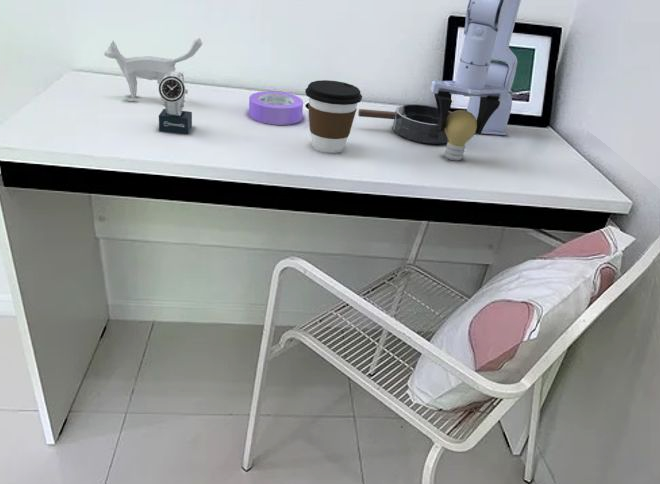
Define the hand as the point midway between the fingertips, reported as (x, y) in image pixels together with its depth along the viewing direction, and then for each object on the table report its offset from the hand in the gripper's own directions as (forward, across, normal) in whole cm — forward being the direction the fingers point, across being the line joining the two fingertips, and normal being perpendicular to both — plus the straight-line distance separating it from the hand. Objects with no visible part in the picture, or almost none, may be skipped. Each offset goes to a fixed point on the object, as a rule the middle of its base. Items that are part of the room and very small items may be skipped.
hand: (459, 131), depth 127 cm
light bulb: (+6, 0, 0) cm, 6 cm away
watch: (+6, -56, +5) cm, 57 cm away
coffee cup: (+6, -26, +1) cm, 27 cm away
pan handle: (+3, -14, +14) cm, 20 cm away
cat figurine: (+6, -62, +22) cm, 66 cm away
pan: (+6, -3, +14) cm, 15 cm away
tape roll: (+6, -36, +18) cm, 41 cm away
